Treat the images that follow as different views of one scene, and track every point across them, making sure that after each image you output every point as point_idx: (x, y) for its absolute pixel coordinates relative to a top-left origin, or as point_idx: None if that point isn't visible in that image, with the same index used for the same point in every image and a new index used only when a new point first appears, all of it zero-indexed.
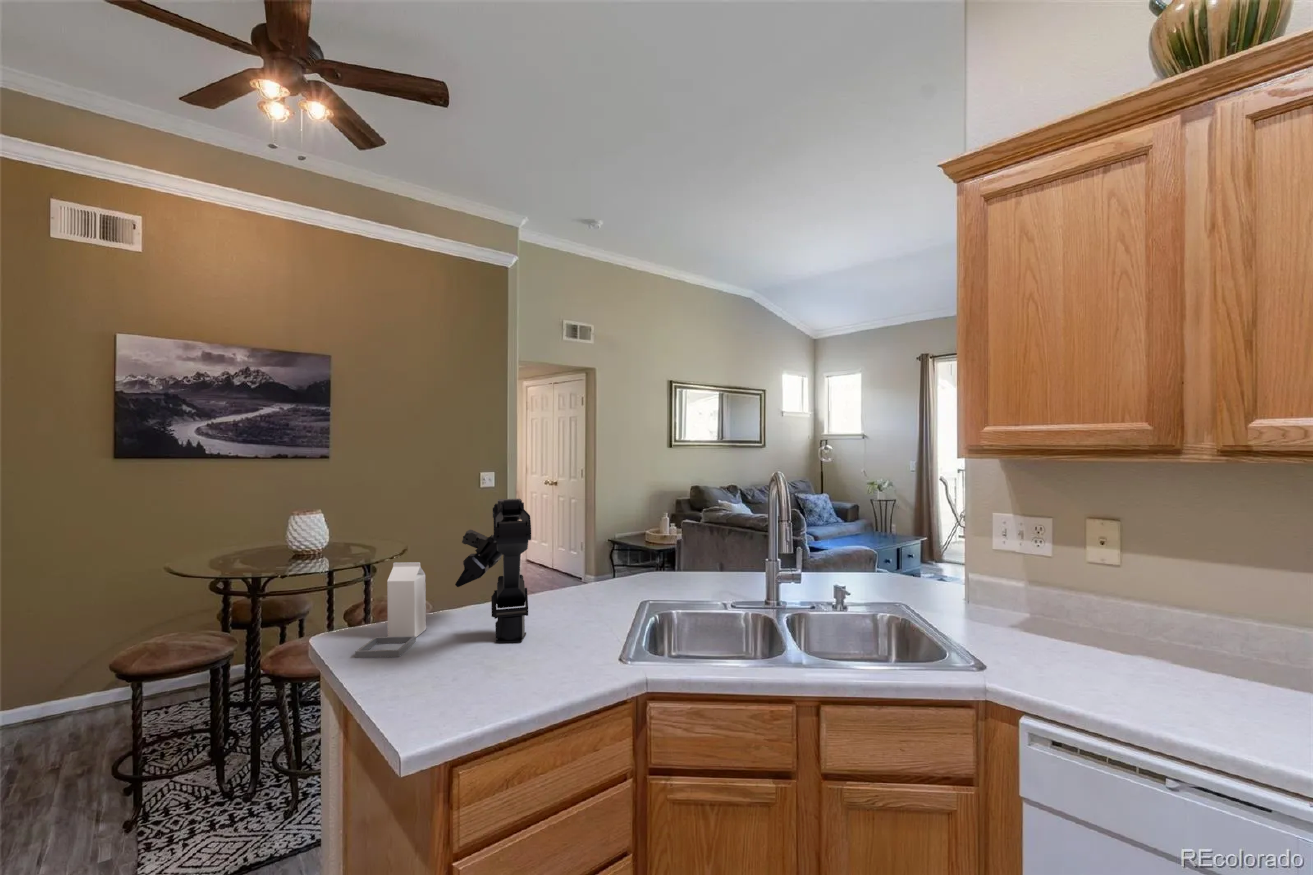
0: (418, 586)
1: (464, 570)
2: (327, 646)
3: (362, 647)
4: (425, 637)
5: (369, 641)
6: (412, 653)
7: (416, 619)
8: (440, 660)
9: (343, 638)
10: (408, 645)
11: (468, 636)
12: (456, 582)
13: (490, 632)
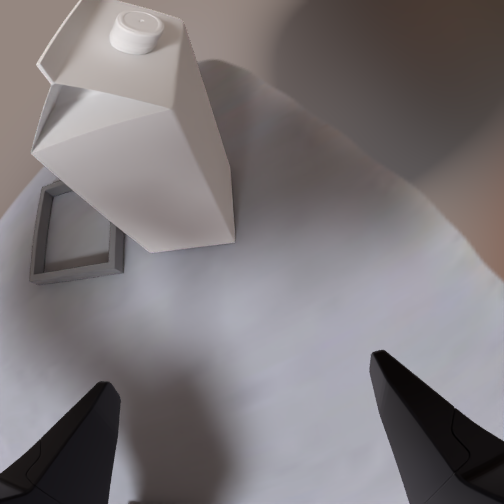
0: (91, 164)
1: (5, 475)
2: None
3: (59, 183)
4: (164, 280)
5: None
6: (54, 306)
7: (136, 232)
8: (25, 391)
9: None
10: (75, 276)
11: (178, 420)
12: (86, 394)
13: (224, 477)
